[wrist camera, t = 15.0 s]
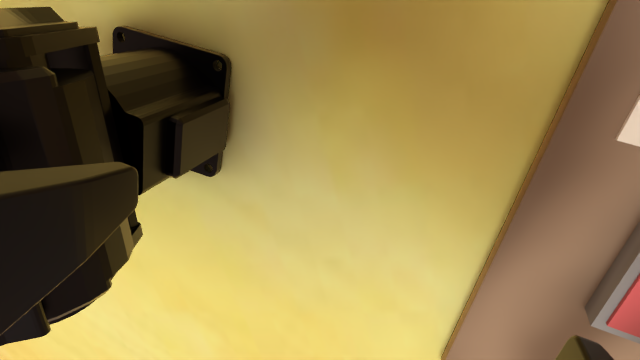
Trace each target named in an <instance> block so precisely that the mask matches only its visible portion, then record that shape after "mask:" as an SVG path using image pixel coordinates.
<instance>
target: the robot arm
mask: <svg viewBox="0 0 640 360" xmlns="http://www.w3.org/2000/svg"><path fill="white" fill-rule="evenodd" d="M123 34H124V35H125V40H124V39H123V36H122V35H123ZM97 42H100V41H99V36H98V32H97V27H78V23H77V22H67V21H64V20H63V19H62V18H61V17H60V16H59V15H58V14H57V13H56V12H55V11H54V10H53V9H52V8H51V7H32V8H1V9H0V346H2V345H5V344H8V343H13V342H18V341H23V340H28V339H33V338H38V337H42V336H44V335H46V334H48V333H49V332H50V330H51V329H50V324H53V323H56V322H59V321H61V320H64V319H66V318H68V317H70V316H73V315H74V314H76V313H78V312H80V311H81V310H83V309H85V308H86V307H87V306H89V305H90V304H91V303H93V302H94V301H95V300H96V299H97V298H99V297H100V296H102V295H103V294H105V293H106V292H107V291H108V290H109V288H110V287H111V285H112V282H111V280H112V278H113V277H114V276H115V274H116V273H117V271H118V270H119V269H120V268H121V267H122V266H123V265H124V264H125V263H126V262H127V261H128V260H129V258H130V255H131V253H132V250H133V248H134V247H135V245H136V244H137V243H138V241H139V240H140V238H141V237H142V235H143V233H142V228H141V224H140V223H139V222H137V218H136V213H135V208H136V206H137V203H138V195H141V194H142V193H144V192H146V191H147V190H149V189H151V188H152V187H154V186H156V185H158V184H159V183H161V182H163V181H164V180H166V179H168V178H169V177H172V178H178V177H180V176H181V175H183V174H185V173H186V172H188V171H190V170H191V171H194V172H197V173H200V174H202V175H205V176H208V177H212V176H214V175H216V174H217V173H218V172H219V171H220V168H221V159H222V150H224V149H225V147H226V137H227V128H228V119H229V109H230V104H229V101H228V91H229V82H230V72H231V63H230V60H229V58H228V57H227V56H225V55H224V54H221V53H217V52H214V51H210V50H207V49H203V48H200V47H196V46H193V45H190V44H186V43H183V42H179V41H176V40H172V39H169V38H165V37H162V36H158V35H155V34H152V33H148V32H145V31H141V30H138V29H134V28H131V27H127V26H120V27H116V28H115V29H114V31H113V54H109V55H104V56H100V55H99V50H98V46H97ZM218 61H220V62H221V64H222V69H219V68H218V66H217V62H218ZM208 164H210V165H211V166H212V169H213V170H212V169H210V168H209V166H208ZM555 360H614V359H613V358H612V356H611V355H610V354H609V353H608V352H607V351H606V350H605V349H604V348H603V347H602V346H601V345H600V344H599V343H597V342H594V341H591V340H589V339H586V338H583V337H581V336H578V335H575V336H572V337H570V338H569V339H568V340H567V342H566V343H565V345H564V346H563V348H562V350H561V351H560V353H559V354H558V356H557V357H556V359H555Z"/></svg>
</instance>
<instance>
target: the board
mask: <svg viewBox="0 0 640 360" xmlns="http://www.w3.org/2000/svg"><path fill="white" fill-rule="evenodd" d="M575 335H578V336H581V337H583V338H586V339H589V340H591V341H594V342H597V343H599V344H600V345H601V346H602V347H603V348H604V349H605V350H606V351H607V352H608V353H609V354H610V355H611V356H612V358H613V359H614V360H640V0H609V2H608V4H607V6H606V9H605V11H604V13H603V15H602V17H601V19H600V21H599V23H598V26H597V28H596V30H595V32H594V34H593V36H592V38H591V40H590V43H589V45H588V47H587V49H586V51H585V53H584V55H583V57H582V60H581V62H580V64H579V66H578V68H577V70H576V72H575V74H574V77H573V79H572V81H571V83H570V85H569V87H568V89H567V91H566V94H565V96H564V98H563V100H562V102H561V104H560V106H559V108H558V111H557V113H556V115H555V117H554V119H553V121H552V123H551V125H550V128H549V130H548V132H547V134H546V136H545V138H544V140H543V142H542V145H541V147H540V149H539V151H538V153H537V155H536V157H535V159H534V162H533V164H532V166H531V168H530V170H529V172H528V174H527V176H526V179H525V181H524V183H523V185H522V187H521V189H520V191H519V193H518V196H517V198H516V200H515V202H514V204H513V206H512V208H511V210H510V213H509V215H508V217H507V219H506V221H505V223H504V225H503V227H502V230H501V232H500V234H499V236H498V238H497V240H496V242H495V244H494V247H493V249H492V251H491V253H490V255H489V257H488V259H487V261H486V264H485V266H484V268H483V270H482V272H481V274H480V276H479V278H478V281H477V283H476V285H475V287H474V289H473V291H472V293H471V295H470V298H469V300H468V302H467V304H466V306H465V308H464V310H463V312H462V315H461V317H460V319H459V321H458V323H457V325H456V327H455V329H454V332H453V334H452V336H451V338H450V340H449V342H448V344H447V346H446V349H445V351H444V353H443V355H442V357H441V360H555V359H556V357H557V356H558V354H559V353H560V351H561V350H562V348H563V346H564V345H565V343H566V342H567V340H568V339H569V338H570V337H572V336H575Z"/></svg>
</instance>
